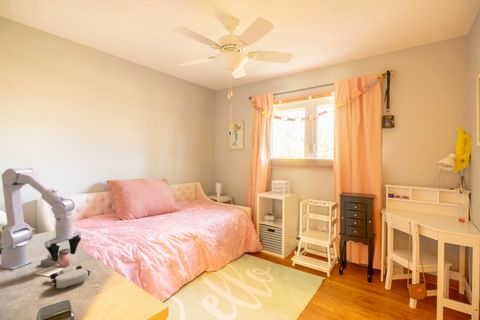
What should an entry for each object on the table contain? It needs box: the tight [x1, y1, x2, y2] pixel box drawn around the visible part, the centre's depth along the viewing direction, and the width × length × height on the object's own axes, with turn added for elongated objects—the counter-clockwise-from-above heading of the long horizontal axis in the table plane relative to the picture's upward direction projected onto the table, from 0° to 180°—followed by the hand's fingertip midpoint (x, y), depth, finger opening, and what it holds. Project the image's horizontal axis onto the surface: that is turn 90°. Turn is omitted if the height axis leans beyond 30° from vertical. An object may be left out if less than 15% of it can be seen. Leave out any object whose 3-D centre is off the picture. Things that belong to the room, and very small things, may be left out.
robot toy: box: [48, 265, 93, 289], centre depth 89 cm, size 12×4×15 cm
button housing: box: [40, 257, 59, 267], centre depth 106 cm, size 7×7×2 cm
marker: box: [58, 248, 70, 269], centre depth 103 cm, size 4×4×7 cm
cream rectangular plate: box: [34, 266, 64, 278], centre depth 98 cm, size 8×6×1 cm
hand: (64, 257), depth 103 cm, fingers open, 7 cm apart
